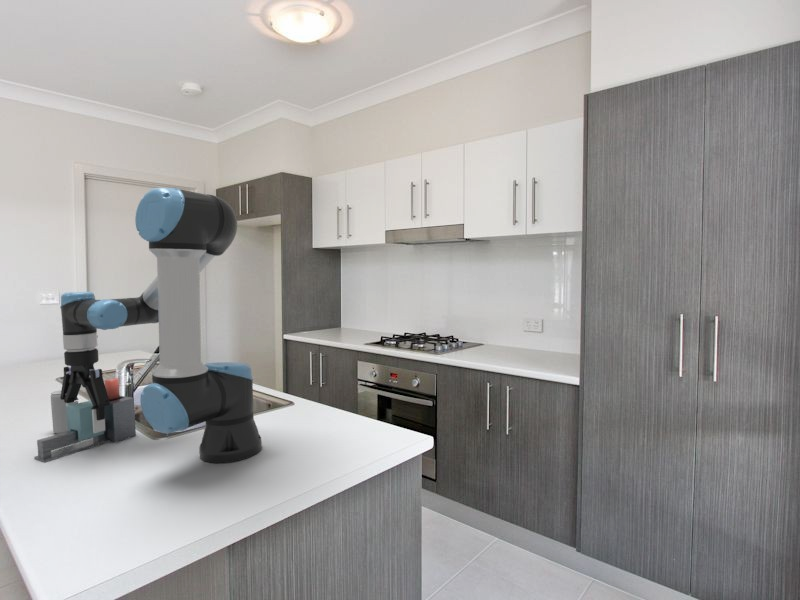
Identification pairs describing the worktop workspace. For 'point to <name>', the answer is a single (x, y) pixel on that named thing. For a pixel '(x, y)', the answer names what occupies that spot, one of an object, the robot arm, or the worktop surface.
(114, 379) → the red block
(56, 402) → the beverage can
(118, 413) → the rail station
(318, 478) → the worktop surface
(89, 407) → the carriage
